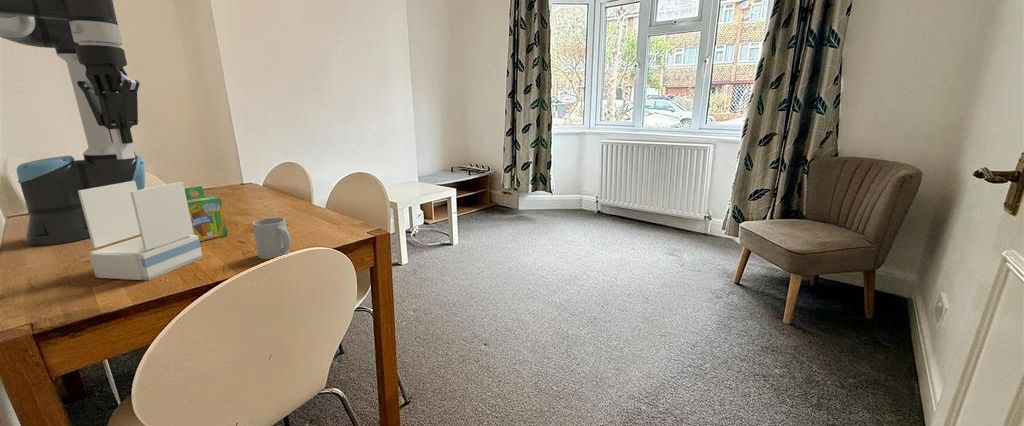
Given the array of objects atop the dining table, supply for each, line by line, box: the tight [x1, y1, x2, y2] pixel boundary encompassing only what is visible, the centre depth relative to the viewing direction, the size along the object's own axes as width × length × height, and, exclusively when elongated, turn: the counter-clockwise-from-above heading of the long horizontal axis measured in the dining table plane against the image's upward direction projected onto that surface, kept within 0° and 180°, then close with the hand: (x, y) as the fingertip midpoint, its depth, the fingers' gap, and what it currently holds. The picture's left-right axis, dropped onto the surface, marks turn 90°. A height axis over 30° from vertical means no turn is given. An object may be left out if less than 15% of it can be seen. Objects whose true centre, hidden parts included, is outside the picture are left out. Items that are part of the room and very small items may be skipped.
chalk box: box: [184, 185, 228, 242], centre depth 123 cm, size 9×9×15 cm
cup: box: [252, 217, 292, 260], centre depth 108 cm, size 7×10×9 cm
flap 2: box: [130, 181, 194, 250], centre depth 97 cm, size 1×12×13 cm, turn 172°
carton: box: [88, 235, 204, 281], centre depth 101 cm, size 14×15×6 cm
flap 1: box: [78, 181, 141, 249], centre depth 99 cm, size 1×12×13 cm, turn 171°
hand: (126, 158), depth 95 cm, fingers closed
